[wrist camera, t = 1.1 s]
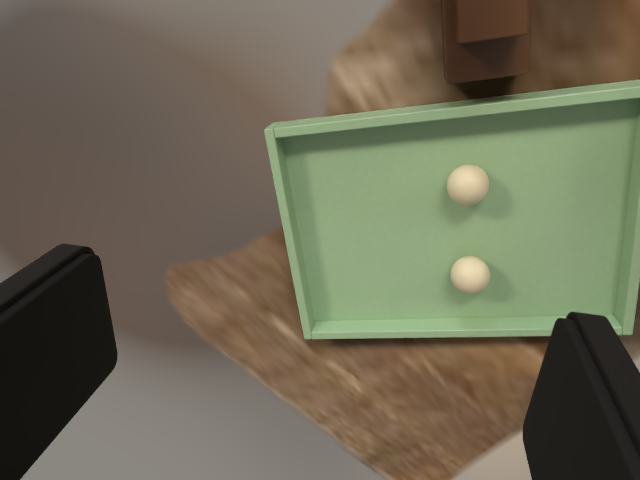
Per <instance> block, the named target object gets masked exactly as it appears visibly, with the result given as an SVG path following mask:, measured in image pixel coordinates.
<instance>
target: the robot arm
mask: <svg viewBox="0 0 640 480" xmlns="http://www.w3.org/2000/svg"><path fill="white" fill-rule="evenodd" d="M116 362H117V348H116V343H115V337H114V332H113V326H112V320H111V315H110V309H109V304H108V298H107V293H106V287H105V282H104V277H103V271H102V265H101V261H100V258H99V257H98V256H97V255H95V254H94V252H93V250H92V249H91V248H89V247H84V246H77V245H69V244H61V245H58V246H56V247H55V248H53V249H52V250H50V251H49V252H47V253H46V254H44V255H43V256H41V257H40V258H38V259H37V260H35V261H34V262H32V263H31V264H29V265H28V266H26V267H25V268H23V269H22V270H20V271H19V272H17V273H15V274H14V275H12V276H11V277H9V278H8V279H6V280H5V281H3V282H2V283H0V480H20V479H21V478H22V477H23V475H24V474H25V473H26V472H27V471H28V469H29V468H30V467H31V466H32V465H33V464H34V462H35V461H36V460H37V459H38V458H39V456H40V455H41V454H42V453H43V452H44V451H45V449H46V448H47V447H48V446H49V445H50V444H51V442H52V441H53V440H54V439H55V438H56V436H57V435H58V434H59V433H60V432H61V431H62V429H63V428H64V427H65V426H66V425H67V424H68V422H69V421H70V420H71V419H72V418H73V416H74V415H75V414H76V413H77V412H78V410H79V409H80V408H81V407H82V406H83V405H84V403H85V402H86V401H87V400H88V399H89V398H90V396H91V395H92V394H93V393H94V392H95V390H96V389H97V388H98V387H99V386H100V385H101V384H102V382H103V381H104V380H105V379H106V378H107V376H108V375H109V374H110V373H111V372H112V370H113V369H114V367H115V365H116ZM523 442H524V446H525V451H526V455H527V460H528V464H529V468H530V473H531V477H532V480H640V373H639V371H638V369H637V368H636V366H635V364H634V362H633V361H632V359H631V357H630V356H629V354H628V352H627V351H626V349H625V347H624V345H623V344H622V342H621V340H620V339H619V337H618V335H617V334H616V332H615V330H614V329H613V327H612V325H611V323H610V322H609V320H608V319H607V318H606V317H605V316H602V315H594V314H587V313H579V312H570V313H569V314H568V315H567V317H566V318H558V319H557V320H556V321H555V324H554V327H553V330H552V333H551V337H550V340H549V343H548V346H547V349H546V353H545V356H544V359H543V362H542V366H541V369H540V372H539V375H538V378H537V382H536V385H535V388H534V391H533V395H532V398H531V401H530V404H529V407H528V411H527V414H526V417H525V420H524V424H523Z"/></svg>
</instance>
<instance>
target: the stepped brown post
mask: <svg viewBox="0 0 640 480" xmlns="http://www.w3.org/2000/svg"><path fill="white" fill-rule="evenodd" d="M441 13H442V37H443V60H444V77H445V80H446V82H447V84H453V83H461V82H469V81H477V80H485V79H493V78H501V77H509V76H517V75H525V74H529V71H530V31H531V0H441Z"/></svg>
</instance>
